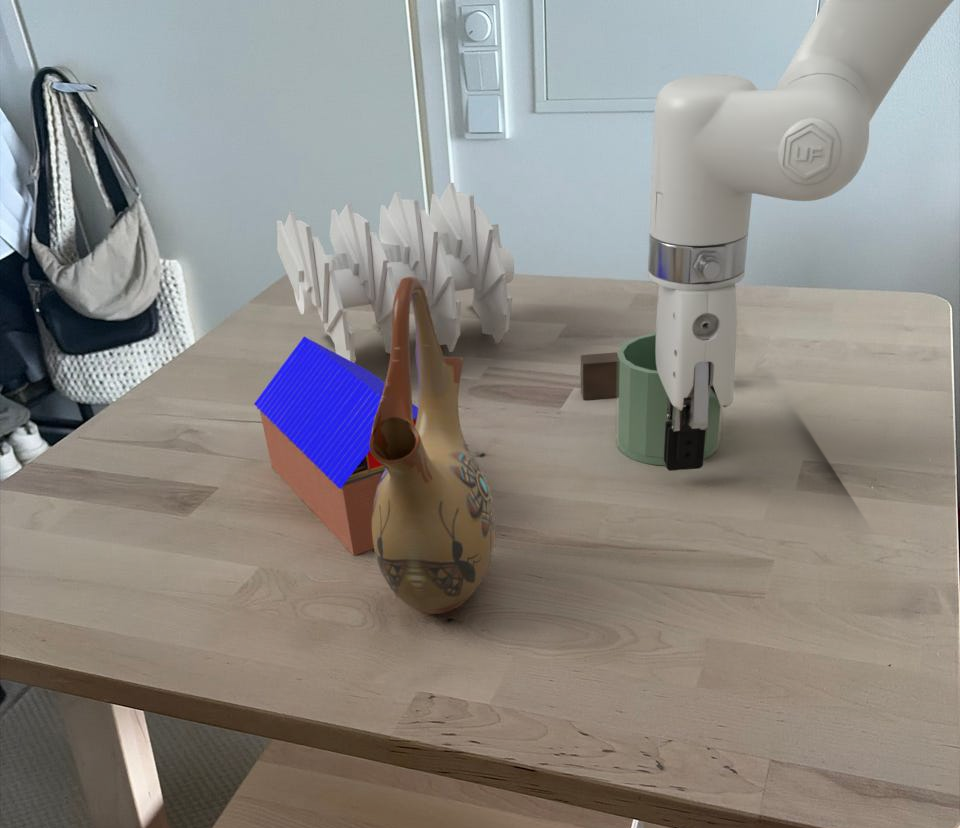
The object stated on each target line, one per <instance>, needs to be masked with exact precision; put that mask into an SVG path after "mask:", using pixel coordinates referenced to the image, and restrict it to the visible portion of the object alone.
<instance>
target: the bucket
mask: <svg viewBox="0 0 960 828" xmlns="http://www.w3.org/2000/svg"><path fill="white" fill-rule="evenodd" d="M655 346H656V332H652V333H651V332H650V333H647V334H644V335H640V336H635V337H633V338H631V339H629V340H627V341H626V342H623V343H622V344H621V345H620V347H619V348H618V350H617V351H616V352H617V380H616V398H615V435H616V437H615V438H616V439H615V441H616V446H617V448H618V450H619V451H620V452H621V453H622V454H623V455H624V456H626V457H628V458H630V459H632V460H634V461H636V462H640V463H643V464H646V465H647V464H648V465H653V466H665V467H666V464H665V462H664V442H665V423H666V422H669V421H672V420H668V419H667V393H666V391H665V389H664V386H663V384H662V382H661V379H660V377H659V374H658V371H657V367H656V354H655ZM723 413H724V407H723V406H720V405H719V403H718V401H717V399H716V397H715V395H714V393H713V392H712V390H711V391H710V399H709V407H708V427H707V428H706V433H705V445H704V458H703V460H705V459H707V458H709V457H710V456H712V455H713V454H715V452H716V451H717V450H718V449H719V446H720V442H721V441H720V440H721V439H720V438H721V435H722V426H723V417H724V416H723V415H724V414H723Z"/></svg>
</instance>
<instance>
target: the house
mask: <svg viewBox="0 0 960 828" xmlns="http://www.w3.org/2000/svg"><path fill="white" fill-rule="evenodd" d="M384 386H385V381H383V380H382V379H380V378H379V377H378V376H377V375H375V374H374V373H372V372H371V371H370V370H368V369H366V368H364V367H362V366H360V365H359V364H357V363H356V362H355V363H353V362H351V361H349V360H347V359H345V358H344V357H342V356H340V355H338V354H336V352H335V351H333V350H330V349H328V348H327V347H325V346H323V345H321V344H319V343H318V342H315V341H313V340H312V339H310V338H308V337H306V336H303V337H302V338H301V340H300V341H299V342H298V343H297V345H296V347H295V348H294V349H293V350H292V352H291V353H290V355H289V356H288V357H287V359H286V360H285V362H284V363H283V364H282V365H281V367H280V368H279V370H278V371H277V372H276V374H275V375H274V376H273V378H272V379H271V380H270V382H269V383H268V384H267V385H266V387H265V388H264V390H263V391H262V393H261V394H260V395H259V397H258V398H257V399H256V401H255V402H254V403H253V404H254V406H255V407H256V409H257V411H258V410H259V413H260V416H261V422H262V427H263V432H264V437H265V441H266V446H267V451H268V456H269V461H270V465H271V468H272V470H274V472H276V474H277V475H278V476H279V477H280V478H281V479H282V480H283V481H284V482H285V483H286V484H287V486H288V488H290V489H291V490H292V491H293V493H295V494H296V495H297V496H298V497H299V498H300V499H301V501H302V502H303V503H304V504H305V505H306V506H307V507H308V508H309V509H310V510H311V511H312V513H313V514H314V515H315V516H316V517H317V518H318V519H319V520H320V521H321V522H322V523H323V524H324V525H325V527H327V529H328V530H329V531H330V532H331V533H332V534H333V535H334V536H335V538H337V539H338V541H340V543H341V544H342V545H343V546H344V547H345V548H346V549H347V551H349V552H350V554H351V555H352V556H358V555H360V554H363V553H366V552H368V551H371V550H374V545H373V538H372V510H373V503H374V498H375V493H376V490H377V486H378V484H379V481H380V478H381V476H382V474H383V472H384V470H385V466H384V465H382V464H381V463H380V462H379V461H377V460H376V459H375V458H374V456H373V455H372V453H371V451H370V447H369V442H370V437H371V432H372V426H373V422H374V419H375V416H376V413H377V410H378V407H379V403H380V400H381V397H382V393H383V390H384ZM412 412H413V422H414V426H415V425H416V420H417V414H418V406H417V405H415V404H413V403H412ZM466 445H467V447H469V445H468V444H467V443H466Z"/></svg>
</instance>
